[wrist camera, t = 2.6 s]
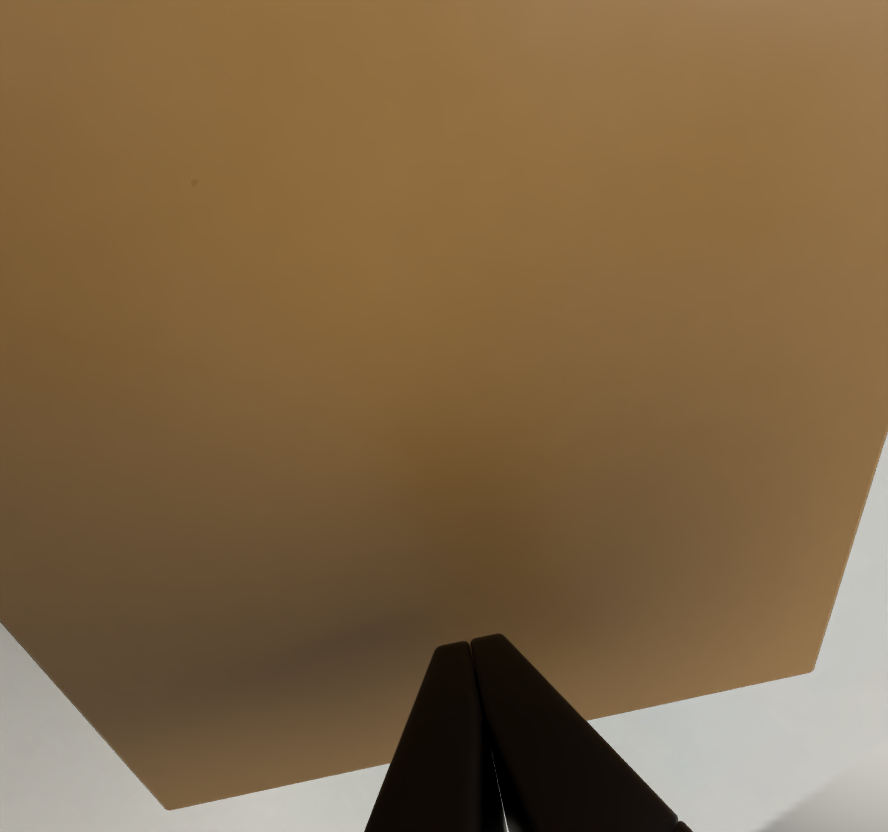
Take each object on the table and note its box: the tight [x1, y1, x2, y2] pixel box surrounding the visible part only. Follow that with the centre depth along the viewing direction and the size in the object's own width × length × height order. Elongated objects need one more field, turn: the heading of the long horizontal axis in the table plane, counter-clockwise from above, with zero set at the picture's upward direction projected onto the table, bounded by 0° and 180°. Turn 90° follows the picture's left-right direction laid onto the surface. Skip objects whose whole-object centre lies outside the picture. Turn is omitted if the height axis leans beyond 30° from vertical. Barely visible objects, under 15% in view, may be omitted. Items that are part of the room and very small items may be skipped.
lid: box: [0, 0, 888, 810], centre depth 9 cm, size 14×12×1 cm
